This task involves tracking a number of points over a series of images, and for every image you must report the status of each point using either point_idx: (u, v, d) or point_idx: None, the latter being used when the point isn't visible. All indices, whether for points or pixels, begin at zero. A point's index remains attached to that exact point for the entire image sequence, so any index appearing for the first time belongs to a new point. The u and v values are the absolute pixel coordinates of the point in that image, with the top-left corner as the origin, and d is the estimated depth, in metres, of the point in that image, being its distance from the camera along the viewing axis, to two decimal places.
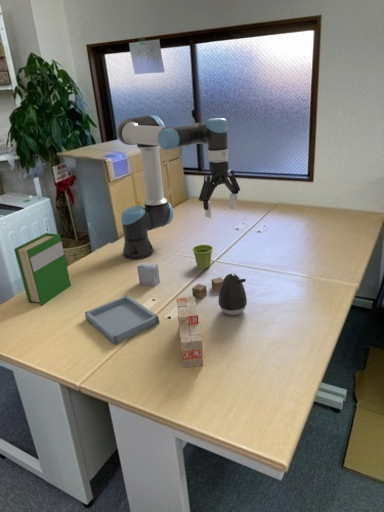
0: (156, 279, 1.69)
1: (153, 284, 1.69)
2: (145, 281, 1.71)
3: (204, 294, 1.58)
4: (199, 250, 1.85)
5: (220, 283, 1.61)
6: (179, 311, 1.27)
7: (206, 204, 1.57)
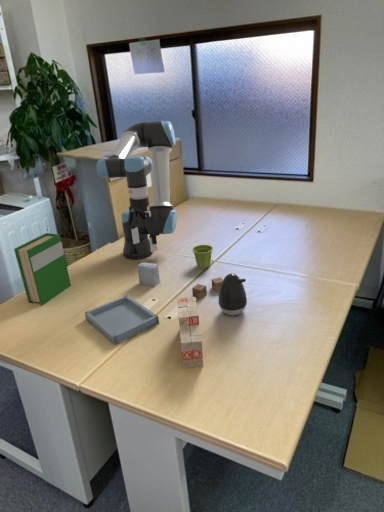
0: (156, 279, 1.69)
1: (153, 284, 1.69)
2: (145, 281, 1.71)
3: (204, 294, 1.58)
4: (199, 250, 1.85)
5: (220, 283, 1.61)
6: (180, 311, 1.26)
7: None
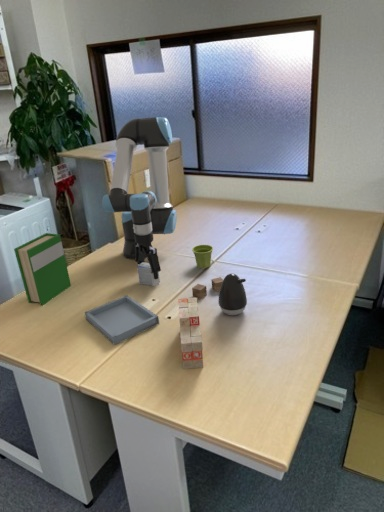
0: None
1: None
2: (144, 281, 1.71)
3: (204, 294, 1.58)
4: (199, 250, 1.85)
5: (220, 283, 1.61)
6: (180, 312, 1.26)
7: None
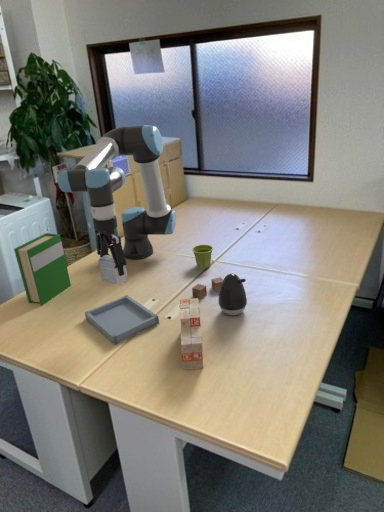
0: None
1: None
2: (108, 277, 1.38)
3: (204, 294, 1.58)
4: (199, 250, 1.85)
5: (220, 283, 1.61)
6: (181, 313, 1.26)
7: None
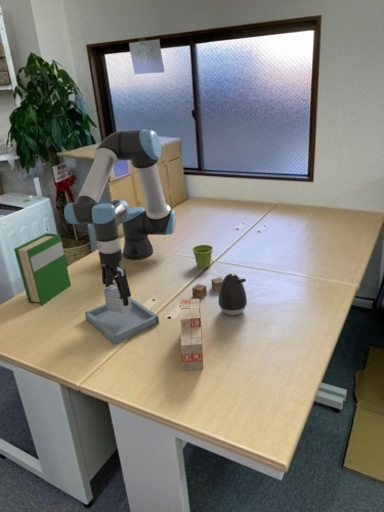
0: None
1: None
2: (113, 307, 1.42)
3: (204, 294, 1.58)
4: (199, 250, 1.85)
5: (220, 283, 1.61)
6: (182, 313, 1.26)
7: None
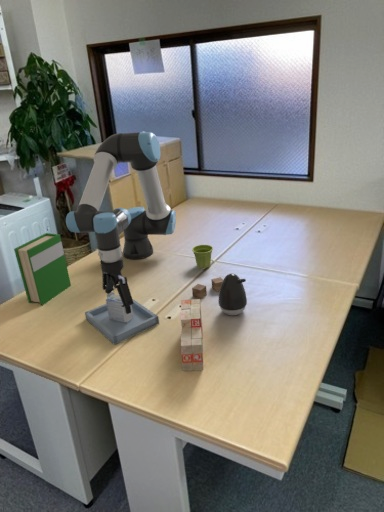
0: None
1: None
2: (115, 317, 1.44)
3: (204, 294, 1.58)
4: (199, 250, 1.85)
5: (220, 283, 1.61)
6: (182, 313, 1.25)
7: None
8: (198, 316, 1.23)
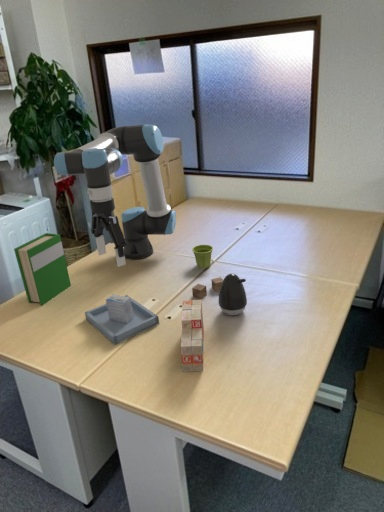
0: (128, 315, 1.42)
1: (125, 321, 1.43)
2: (115, 317, 1.44)
3: (204, 294, 1.58)
4: (199, 250, 1.85)
5: (220, 283, 1.61)
6: (183, 314, 1.25)
7: None
8: (199, 317, 1.23)
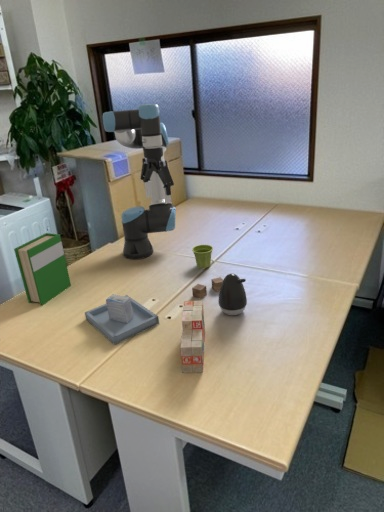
0: (128, 315, 1.42)
1: (125, 321, 1.43)
2: (115, 317, 1.44)
3: (204, 294, 1.58)
4: (199, 250, 1.85)
5: (220, 283, 1.61)
6: (184, 315, 1.25)
7: (145, 184, 1.67)
8: (199, 318, 1.22)
